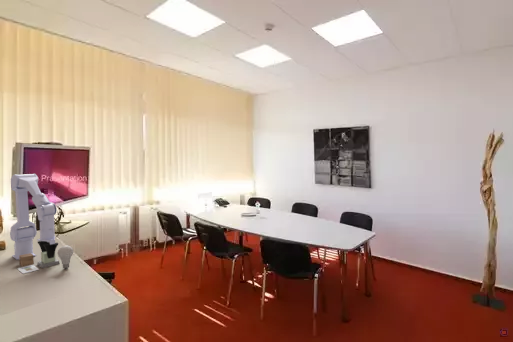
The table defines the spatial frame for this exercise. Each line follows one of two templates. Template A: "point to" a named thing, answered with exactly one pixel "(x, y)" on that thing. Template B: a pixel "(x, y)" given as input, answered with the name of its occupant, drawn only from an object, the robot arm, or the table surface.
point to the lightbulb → (65, 255)
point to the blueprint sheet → (27, 269)
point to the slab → (48, 263)
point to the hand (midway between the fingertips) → (48, 256)
